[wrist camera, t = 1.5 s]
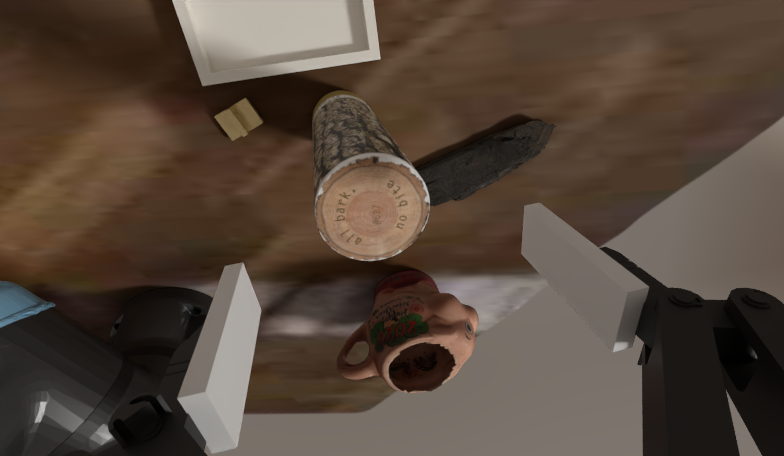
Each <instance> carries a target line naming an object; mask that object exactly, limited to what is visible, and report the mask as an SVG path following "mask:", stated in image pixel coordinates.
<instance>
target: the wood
mask: <svg viewBox="0 0 784 456" xmlns="http://www.w3.org/2000/svg"><path fill="white" fill-rule="evenodd" d="M555 127H556V125H553V124H552V125H548V124H547V123H543V122H541V121H538V120H536V121H531V122H528V123H525V124H521V125H517V126H515V127H512V128H509V129H506V130H504V131H501V132H498V133H496V134H492V135H489V136H486V137H484V138H482V139H480V140H479V141H477V142H475V143H473V144H471V145H468V146H466V147H463V148H461V149H459V150H455V151H453V152H451V153H449V154H447V155H445V156H442V157H440V158H438V159H436V160H433V161H431V162H429V163H426V164H424V165H423V166H421V167H418V168H415V169H416V170H417V171H418V173H419V174H420V176H421V177H422V179H423V181H424V183H425V185H426V187H427V190H428V193H429V198H430V206H432V205H433V206H436V205H439V204H442V203H444V202H447V201H449V200H451V199H453V198H454V199H455V201H458V200H461V199H462V200H463V199H465V198H467V197H468V196H470V195H471V194H473V193H475V191H477V190H479V189H481V188H484V187H486V186H488V185H490V184H492V183H493V182H495V181H498V180H499V179H500V178H502V177H503V176H505V175H506V174H508V173H510V172H511V171H512V169H516V168H518V166H520V165H522V164H523V162H525V161H528V160H529V159H531V158H534V157H535V156H537V155H538V154H539V153H540V151H541V150H542V149H544V148H545V145H546V144H547V142H548V140H549V137H550V136H551V134H552V131H553V129H554V128H555Z"/></svg>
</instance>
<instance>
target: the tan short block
mask: <svg viewBox="0 0 784 456" xmlns="http://www.w3.org/2000/svg"><path fill="white" fill-rule="evenodd" d="M214 118H215V119H216V120H217V121H218V123H219V124H220V125H221V127H222V128H223V129H224V130H225V132H226V133H227V134H228V136H229V137H230V138H231V140H232V141H233V140H235V139H237V138H238V137H240V136H243V137H244V136H246V135H247V134H248V133H249V132H250V130H252V129H254V128H255V127H257V126H259V125H260V124H262V123H263V122H264V120H263V119H262V117H261V116H260V115H259V113H258V112H257V110H256V109H255V107H254V106H253V105H252V103H251V102H250V100H249V99H248V97H245V98H244V99H242V100H240V101H239V102H237V103H235V104H234V105H232V106H230V107H229V108H227V109H225V110H224V111H222V112H220V113H219V114H217V115H215V116H214Z"/></svg>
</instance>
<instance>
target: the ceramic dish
mask: <svg viewBox="0 0 784 456" xmlns="http://www.w3.org/2000/svg"><path fill="white" fill-rule="evenodd" d="M172 1H173V4H174V7H175V10H176V13H177V16H178V18H179V21H180V24H181V27H182V30H183V33H184V35H185V38H186V41H187V44H188V47H189V49H190V52H191V55H192V58H193V61H194V64H195V66H196V69H197V72H198V75H199V78H200V81H201V83H202V86H206V85H213V84H220V83H226V82H233V81H240V80H246V79H253V78H259V77H266V76H273V75H279V74H286V73H292V72H299V71H306V70H312V69H319V68H325V67H332V66H339V65H345V64H352V63H359V62H365V61H372V60H378V59H380V51H379V43H378V35H377V27H376V19H375V11H374V3H373V0H172Z"/></svg>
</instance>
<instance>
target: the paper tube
mask: <svg viewBox="0 0 784 456" xmlns="http://www.w3.org/2000/svg"><path fill="white" fill-rule="evenodd" d="M312 123H313V124H312V128H313V129H312V133H313V176H314V213H315V219H316V224H317V227H318V230H319V232H320V234H321V236H322V237H323V239H324V240H325V242H326V243H327V244H328V245H329V246H330V247H331V248H332V249H334V250H335V251H337V252H338V253H340V254H342V255H344V256H346V257H349V258H352V259H356V260H362V261H375V260H381V259H386V258H389V257H392V256H394V255H396V254H398V253H400V252H402V251H403V250H405V249H406V248H408V247H409V246H410V245H411V244H412V243H413V242H414V241H415V240H416V239H417V238H418V237H419V235H420V234H421V233H422V231H423V229H424V227H425V225H426V223H427V220H428V216H429V211H430V198H429V193H428V190H427V187H426V185H425V183H424V181H423V179H422V177H421V176H420V174H419V173H418V171H417V170H416V169H415V167H414V166H413V165H412V163H411V162H410V161H409V159H408V158H407V157H406V155H405V154H404V153H403V151H402V150H401V149H400V147H399V146H398V145H397V143H396V142H395V141H394V140H393V138H392V137H391V136H390V134H389V133H388V132H387V130H386V129H385V128H384V126H383V125H382V124H381V122H380V121H379V120H378V118H377V117H376V116H375V114H374V113H373V112H372V110H371V109H370V108H369V106H368V105H367V104H366V103H365V101H364V100H363V99H362V98H361V97H359V96H358V95H357V94H355V93H352V92H349V91H344V90H339V91H333V92H331V93H328V94H326V95H325V96H324V97H322V98H321V99H320V100H319V102H318V103H317V105H316V106H315V109H314V112H313V118H312Z"/></svg>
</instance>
